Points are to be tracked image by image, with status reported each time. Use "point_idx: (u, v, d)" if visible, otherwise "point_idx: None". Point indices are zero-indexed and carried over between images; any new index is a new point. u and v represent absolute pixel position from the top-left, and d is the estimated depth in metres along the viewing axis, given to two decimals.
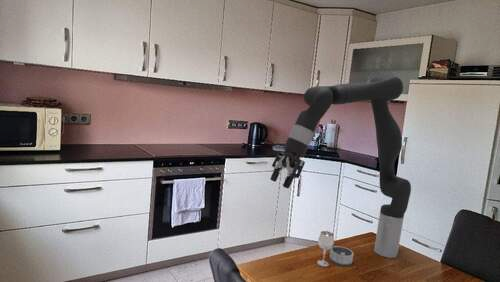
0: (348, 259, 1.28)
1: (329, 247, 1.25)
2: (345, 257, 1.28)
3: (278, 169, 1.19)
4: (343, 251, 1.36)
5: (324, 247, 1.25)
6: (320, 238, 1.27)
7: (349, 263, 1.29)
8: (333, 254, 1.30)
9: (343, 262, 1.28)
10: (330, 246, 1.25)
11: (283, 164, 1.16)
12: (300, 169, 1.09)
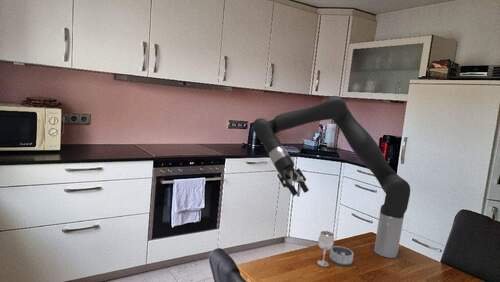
0: (348, 259, 1.28)
1: (329, 247, 1.25)
2: (345, 257, 1.28)
3: (301, 182, 1.40)
4: (343, 251, 1.36)
5: (324, 247, 1.25)
6: (320, 238, 1.27)
7: (349, 263, 1.29)
8: (333, 254, 1.30)
9: (343, 262, 1.28)
10: (330, 246, 1.25)
11: None
12: (283, 178, 1.33)
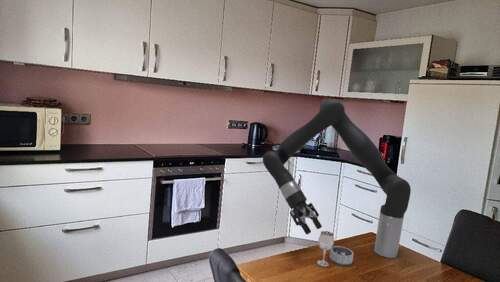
0: (348, 259, 1.28)
1: (329, 247, 1.25)
2: (345, 257, 1.28)
3: (313, 218, 1.35)
4: (343, 251, 1.36)
5: (324, 247, 1.25)
6: (320, 238, 1.27)
7: (349, 263, 1.29)
8: (333, 254, 1.30)
9: (343, 262, 1.28)
10: (330, 246, 1.25)
11: None
12: (296, 216, 1.28)
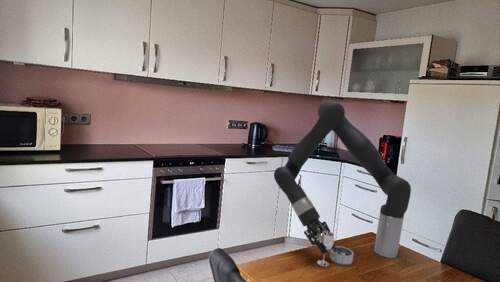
0: (348, 259, 1.28)
1: (329, 247, 1.25)
2: (345, 257, 1.28)
3: None
4: (343, 251, 1.36)
5: None
6: None
7: (349, 263, 1.29)
8: (333, 254, 1.30)
9: (343, 262, 1.28)
10: (330, 246, 1.25)
11: None
12: (311, 236, 1.24)
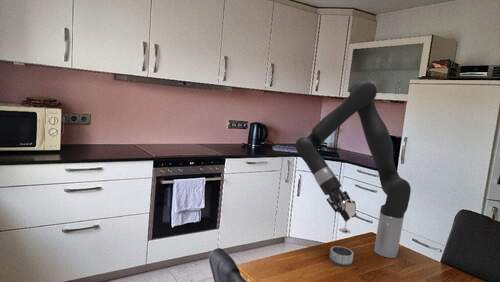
0: (348, 259, 1.28)
1: (351, 214, 1.27)
2: (345, 257, 1.28)
3: None
4: (343, 251, 1.36)
5: None
6: None
7: (349, 263, 1.29)
8: (333, 254, 1.30)
9: (343, 262, 1.28)
10: (352, 213, 1.27)
11: None
12: (334, 203, 1.26)
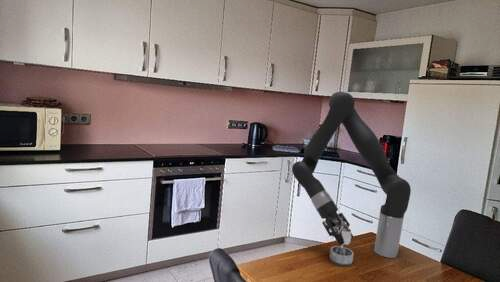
0: (348, 259, 1.28)
1: (347, 242, 1.29)
2: (345, 257, 1.28)
3: None
4: (343, 251, 1.36)
5: None
6: None
7: (349, 263, 1.29)
8: (333, 254, 1.30)
9: (343, 262, 1.28)
10: (348, 241, 1.29)
11: None
12: (329, 227, 1.28)
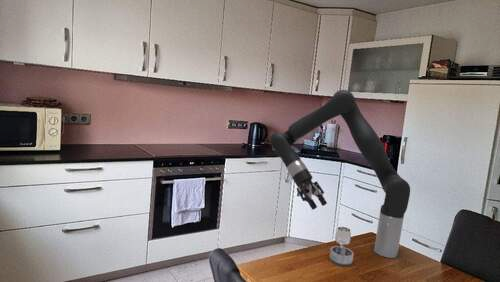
0: (348, 259, 1.28)
1: (346, 242, 1.29)
2: (345, 257, 1.28)
3: (319, 195, 1.42)
4: (343, 251, 1.36)
5: (341, 242, 1.29)
6: (337, 234, 1.30)
7: (349, 263, 1.29)
8: (333, 254, 1.30)
9: (343, 262, 1.28)
10: (347, 241, 1.29)
11: None
12: (302, 192, 1.34)
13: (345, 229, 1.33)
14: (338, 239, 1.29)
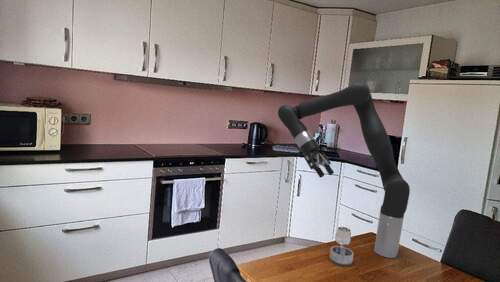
0: (348, 259, 1.28)
1: (346, 242, 1.29)
2: (345, 257, 1.28)
3: (326, 165, 1.46)
4: (343, 251, 1.36)
5: (341, 242, 1.29)
6: (337, 234, 1.30)
7: (349, 263, 1.29)
8: (333, 254, 1.30)
9: (343, 262, 1.28)
10: (347, 241, 1.29)
11: None
12: (310, 161, 1.38)
13: (345, 229, 1.33)
14: (338, 239, 1.29)
